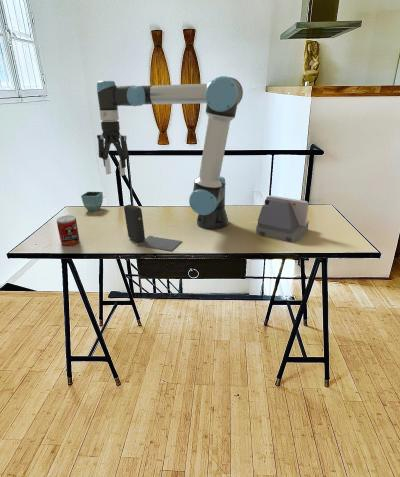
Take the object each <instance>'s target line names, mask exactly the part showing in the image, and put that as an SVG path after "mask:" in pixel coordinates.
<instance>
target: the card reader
mask: <svg viewBox="0 0 400 477" xmlns="http://www.w3.org/2000/svg"><path fill="white" fill-rule="evenodd" d="M123 210H124V218H125V223H126V229H127V231H126V232H127V236H128V239H131V240H133V241H135V242H137V243H140V242H142V241H144V240H145V239H146V237H145V236H146V235H145V234H146V233H145V228H144V226H145V225H144V219H143V212H142V209H141V207H138V206H136V205H133V204H127V205H124V206H123Z"/></svg>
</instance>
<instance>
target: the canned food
mask: <svg viewBox="0 0 400 477" xmlns="http://www.w3.org/2000/svg"><path fill="white" fill-rule="evenodd" d="M56 225H57V230H58V235H59V240H60V244H61V245H62V246H66V247H71V246H74V245H77V244H78V243H79V242H80V235H79V228H78V223H77V218H76V216H75V215H63V216H62V215H61V216H58V217H57V218H56Z"/></svg>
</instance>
